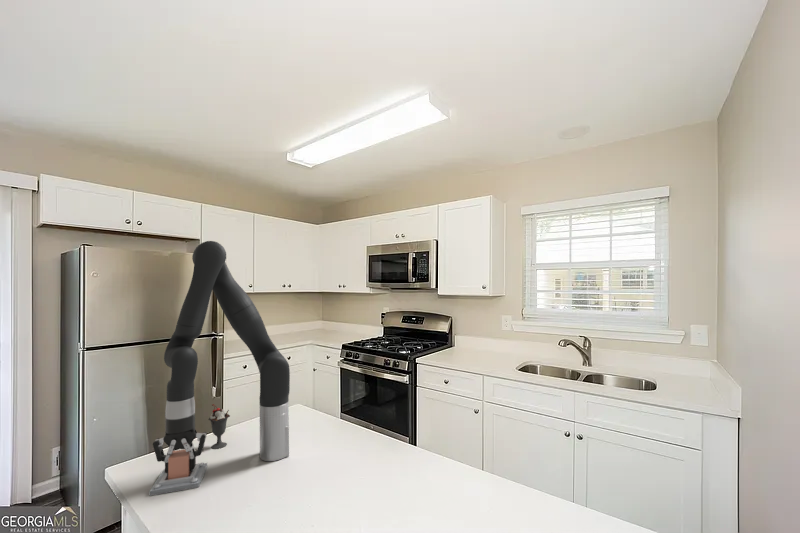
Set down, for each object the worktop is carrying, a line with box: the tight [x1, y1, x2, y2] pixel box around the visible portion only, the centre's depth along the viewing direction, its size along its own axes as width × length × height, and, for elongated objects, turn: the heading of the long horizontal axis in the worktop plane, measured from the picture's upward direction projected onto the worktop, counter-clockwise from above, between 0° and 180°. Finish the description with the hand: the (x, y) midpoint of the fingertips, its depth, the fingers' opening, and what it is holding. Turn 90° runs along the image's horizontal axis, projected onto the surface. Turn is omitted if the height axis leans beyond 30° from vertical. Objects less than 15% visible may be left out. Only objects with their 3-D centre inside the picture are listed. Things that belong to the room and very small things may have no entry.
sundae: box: [208, 403, 231, 450], centre depth 129 cm, size 7×7×15 cm
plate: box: [149, 462, 208, 496], centre depth 107 cm, size 12×12×2 cm
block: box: [168, 449, 190, 480], centre depth 107 cm, size 5×5×6 cm
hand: (180, 471), depth 107 cm, fingers closed on block, 5 cm apart
